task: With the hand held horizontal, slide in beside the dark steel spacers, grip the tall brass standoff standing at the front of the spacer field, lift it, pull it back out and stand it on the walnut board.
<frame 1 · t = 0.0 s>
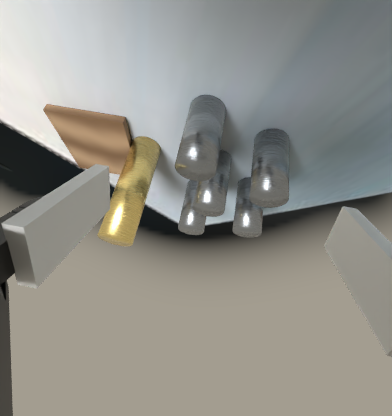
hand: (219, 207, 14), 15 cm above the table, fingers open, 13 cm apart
board: (100, 143, 36), on the table
standoff: (146, 146, 35), on the table
spacers: (209, 157, 35), on the table
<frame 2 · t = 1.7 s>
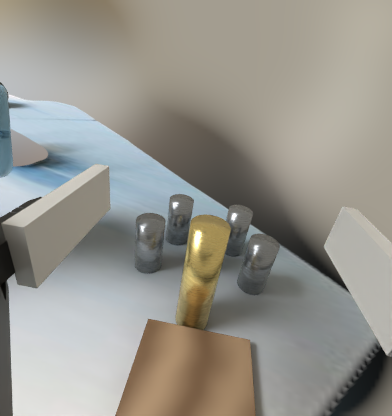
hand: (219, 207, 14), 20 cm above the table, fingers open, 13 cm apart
board: (191, 380, 25), on the table
standoff: (191, 318, 31), on the table
spacers: (199, 269, 39), on the table
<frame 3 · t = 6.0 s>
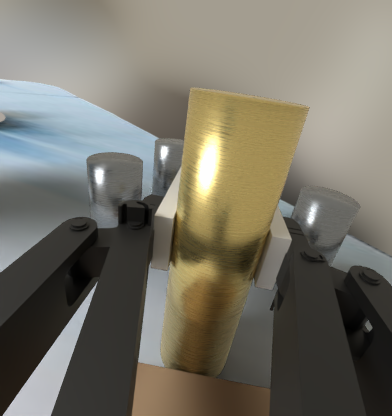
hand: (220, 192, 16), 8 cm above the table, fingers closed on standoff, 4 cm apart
standoff: (193, 348, 15), on the table, touching board, gripper
spacers: (205, 255, 23), on the table
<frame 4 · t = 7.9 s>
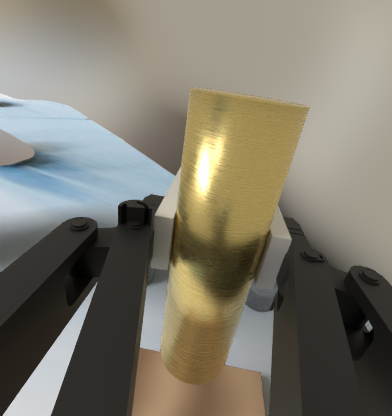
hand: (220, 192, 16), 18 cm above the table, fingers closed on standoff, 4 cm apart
standoff: (193, 348, 15), point 10 cm above the table, touching gripper
spacers: (198, 281, 34), on the table
when the fingers open (9 cm above the table, at t = 9.7 s): standoff stays where it is, resting on board.
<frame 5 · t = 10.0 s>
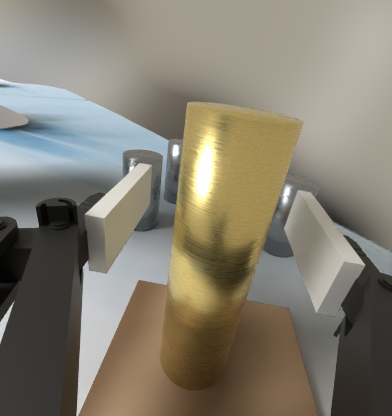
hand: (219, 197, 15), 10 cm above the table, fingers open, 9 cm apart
board: (206, 365, 16), on the table
standoff: (192, 353, 15), point 1 cm above the table, touching board
spacers: (208, 228, 30), on the table
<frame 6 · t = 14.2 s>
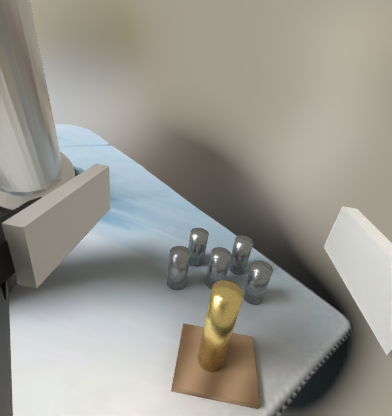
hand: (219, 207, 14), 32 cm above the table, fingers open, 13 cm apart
board: (215, 363, 38), on the table
standoff: (210, 358, 38), point 1 cm above the table, touching board
spacers: (214, 286, 53), on the table
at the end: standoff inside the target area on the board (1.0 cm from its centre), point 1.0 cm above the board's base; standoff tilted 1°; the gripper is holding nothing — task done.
